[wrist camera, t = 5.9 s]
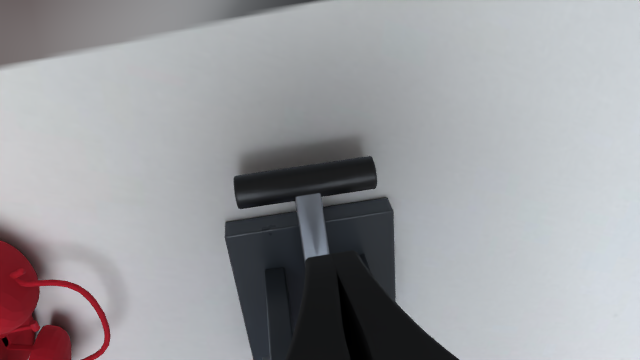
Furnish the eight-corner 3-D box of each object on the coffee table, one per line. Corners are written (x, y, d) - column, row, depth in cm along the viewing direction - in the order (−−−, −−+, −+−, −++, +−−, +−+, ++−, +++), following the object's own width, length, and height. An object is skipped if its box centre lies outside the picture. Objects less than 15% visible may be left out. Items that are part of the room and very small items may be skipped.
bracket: (225, 221, 25) (220, 336, 18) (387, 196, 25) (436, 300, 19) (254, 350, 29) (258, 477, 23) (391, 326, 30) (431, 444, 24)
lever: (236, 175, 23) (230, 177, 21) (366, 156, 24) (376, 155, 21) (269, 392, 24) (268, 418, 21) (397, 370, 24) (409, 393, 22)
